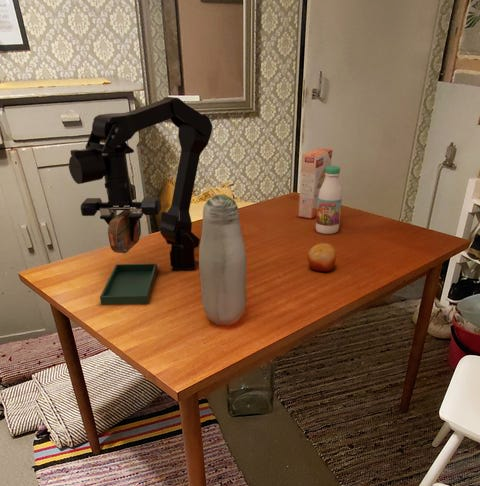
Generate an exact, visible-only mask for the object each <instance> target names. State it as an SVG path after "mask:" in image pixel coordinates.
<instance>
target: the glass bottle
mask: <svg viewBox="0 0 480 486" xmlns="http://www.w3.org/2000/svg"><path fill="white" fill-rule="evenodd" d="M201 226H202V227H201V235H200V241H199V248H198V249H199V250H198V264H199V265H198V266H199V267H198V268H199V278H200V291H201V302H202V308H203V311H204V313H205V315H206V317H207V318H208V319H209V320H210V321H211V322H212V323H214V324H215V325H219V326H231V325H233V324H235V323H236V322H238V321H239V320H240V319H241V318H242V316H243V314H244V313H245V310H246V304H247V251H246V246H245V242H244V238H243V233H242V228H241V219H240V211H239V207H238V204H237V203H236V201H235V199H233V198H232V197H230V196H228V195H226V194H216V195H213V196H210V198H208V199H207V200H206V201H205V204H204V205H203V210H202V225H201Z"/></svg>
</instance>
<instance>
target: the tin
mask: <svg viewBox="0 0 480 486" xmlns="http://www.w3.org/2000/svg"><path fill="white" fill-rule="evenodd" d="M130 214H131V212H130V210H121V212H119V213H118V214H117V216H116V217H115V218H113V219H112V220H111V221H110V223H109V225H108V227H107V237H108V242H109V246H110V249H111V251H112V252H113V253H117V254H127V253H129V251H130V250H131V249H132V248H133V247H134V246H135V245H136V244H138V243H139V241H140V238H141V233H142V232H141V231H142V223H141V218H140V219H138V222H137V226H136V232H135V237H134V241H133V242H132V240H131V236H130V226H129V216H130Z"/></svg>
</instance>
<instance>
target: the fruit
mask: <svg viewBox="0 0 480 486" xmlns="http://www.w3.org/2000/svg"><path fill="white" fill-rule="evenodd" d="M306 259H307V262H308V264H309V266H310V267H311V270H313V271H316V272H329V271H331V270H332V269H333V268H334V266H335V264H336V261H337V252H336V249H335V248H334V247H333V245H332V244H330V243H326V242H323V243H320V242H319V243H317V244H315V245H314V246H312V247H311V248H309V250H308V252H307V254H306Z"/></svg>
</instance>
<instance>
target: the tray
mask: <svg viewBox="0 0 480 486" xmlns="http://www.w3.org/2000/svg"><path fill="white" fill-rule="evenodd" d="M112 269H113V270H112V271H111V274H110V275H109V277H108V280H107V282H106V283H105V285H104V287H103V290H102V291H101V294H100V296H99V300H100V305H101V306H112V305H113V306H116V305H117V306H118V305H121V306H122V305H148V304H149V301H150V298H151V294H152V291H153V288H154V285H155V281H156V278H157V275H158V271H159V270H158V269H159V268H158V263H124V264H123V263H119V264H118V263H116V264H115V265H114V267H113V268H112Z"/></svg>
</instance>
